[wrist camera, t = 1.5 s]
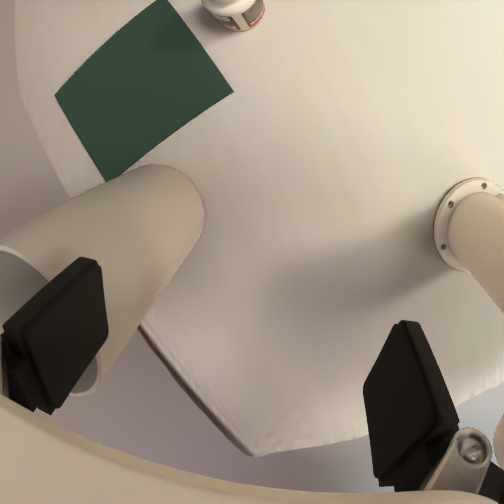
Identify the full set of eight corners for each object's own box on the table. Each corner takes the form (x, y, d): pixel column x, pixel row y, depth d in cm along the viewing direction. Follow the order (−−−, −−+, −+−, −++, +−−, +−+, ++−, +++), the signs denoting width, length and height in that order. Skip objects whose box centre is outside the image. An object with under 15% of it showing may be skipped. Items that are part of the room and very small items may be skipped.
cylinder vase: (155, 271, 44) (55, 405, 21) (102, 200, 40) (-39, 292, 18) (226, 225, 39) (139, 376, 17) (166, 143, 36) (3, 205, 14)
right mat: (164, -4, 28) (163, -5, 28) (233, 91, 33) (233, 91, 32) (55, 95, 35) (54, 95, 34) (109, 183, 39) (108, 184, 39)
